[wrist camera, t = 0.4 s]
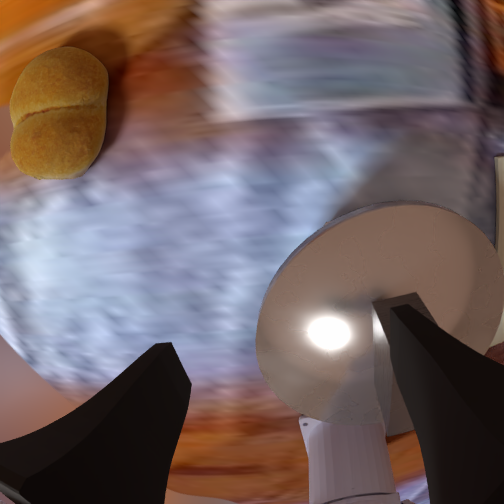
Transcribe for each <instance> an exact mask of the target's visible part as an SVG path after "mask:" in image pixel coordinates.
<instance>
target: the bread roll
mask: <svg viewBox="0 0 504 504" xmlns="http://www.w3.org/2000/svg"><path fill="white" fill-rule="evenodd" d="M108 85H109V81H108V72H107V70H106V68H105V67H104V65H103V64H102V63H101V62H100V61H99V60H98V59H97V58H96V57H94V56H93V55H92V54H90V53H89V52H87V51H85V50H82V49H79V48H75V47H60V48H55V49H52V50H49V51H46V52H44V53H42V54H41V55H39V56H38V57H36V58H35V59H33V60H32V61H31V62H30V63H29V64H28V65H27V67H26V68H25V69H24V70H23V72H22V74H21V75H20V77H19V79H18V81H17V83H16V86H15V88H14V90H13V93H12V96H11V99H10V114H11V119H12V122H13V126H14V131H13V134H12V138H11V145H10V148H11V156H12V159H13V161H14V162H15V164H16V165H17V167H18V168H19V170H20V171H22V172H23V173H25V174H26V175H29V176H32V177H34V178H36V179H39V180H41V179H61V180H63V179H74V178H78V177H81V176H83V175H84V174H85V173H86V171H87V170H88V168H89V167H90V165H91V164H92V162H93V161H94V160H95V158H96V157H97V155H98V153H99V152H100V149H101V147H102V144H103V141H104V136H105V129H106V101H107V95H108Z"/></svg>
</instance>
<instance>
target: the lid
mask: <svg viewBox="0 0 504 504" xmlns="http://www.w3.org/2000/svg"><path fill="white" fill-rule="evenodd" d="M405 304H409V305H410V306H412V307H413V308H414V309H416V310H417V311H419V312H420V313H421V314H423V315H424V316H425V317H427V318H428V319H429V320H431V321H432V322H433V323H435V324H436V325H437V326H439V327H440V328H442V329H443V330H444V331H446V332H447V333H449V334H450V335H452V336H453V337H455V338H456V339H458V340H459V341H461V342H462V343H464V344H465V345H467V346H469V347H470V348H472V349H473V350H475V351H477V352H478V353H480V354H482V355H485V353H486V352H487V350H488V349H489V347H490V345H491V343H492V341H493V339H494V337H495V335H496V332H497V330H498V327H499V324H500V321H501V317H502V313H503V309H504V273H503V268H502V265H501V262H500V259H499V256H498V254H497V252H496V250H495V248H494V246H493V244H492V243H491V242H490V240H489V239H488V238H487V237H486V235H485V234H484V233H483V232H482V231H481V230H480V229H479V228H478V227H476V226H475V225H474V224H473V223H471V222H470V221H468V220H467V219H465V218H464V217H462V216H460V215H459V214H457V213H455V212H454V211H452V210H450V209H447V208H445V207H442V206H440V205H437V204H433V203H428V202H423V201H410V200H398V201H389V202H381V203H377V204H373V205H370V206H366V207H362V208H359V209H357V210H354V211H352V212H350V213H347V214H345V215H342V216H340V217H339V218H337V219H335V220H333V221H332V222H330V223H328V224H326V225H324V226H323V227H322V228H320V229H319V230H317V231H316V232H315V233H313V234H312V235H311V236H309V237H308V238H307V239H306V240H305V241H303V242H302V243H301V244H300V245H299V246H298V247H297V248H296V249H295V250H294V251H293V252H292V253H291V254H290V255H289V257H288V258H287V259H286V260H285V261H284V263H283V264H282V265H281V266H280V268H279V269H278V271H277V272H276V274H275V276H274V277H273V279H272V280H271V282H270V284H269V286H268V288H267V291H266V293H265V295H264V297H263V300H262V304H261V308H260V311H259V315H258V323H257V332H256V355H257V360H258V364H259V368H260V370H261V372H262V375H263V377H264V379H265V381H266V382H267V384H268V386H269V387H270V389H271V390H272V391H273V392H274V393H275V394H276V396H277V397H278V398H279V399H280V400H282V401H283V402H284V403H285V404H286V405H288V406H289V407H291V408H292V409H294V410H296V411H297V412H299V413H301V414H303V415H305V416H308V417H310V418H312V419H316V420H319V421H322V422H327V423H332V424H338V425H370V424H378V423H383V422H384V425H385V429H386V433H387V437H389V436H393V435H397V434H401V433H404V432H408V431H412V430H415V429H414V426H413V423H412V420H411V418H410V415H409V413H408V410H407V407H406V405H405V402H404V400H403V397H402V395H401V392H400V390H399V387H398V384H397V382H396V378H395V374H394V371H393V367H392V363H391V359H390V308H392V307H396V306H400V305H405Z"/></svg>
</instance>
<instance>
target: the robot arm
mask: <svg viewBox="0 0 504 504" xmlns="http://www.w3.org/2000/svg"><path fill="white" fill-rule="evenodd" d="M390 359H391V363H392V367H393V371H394V374H395V378H396V382H397V384H398V387H399V390H400V392H401V395H402V397H403V400H404V402H405V405H406V407H407V410H408V413H409V415H410V418H411V420H412V423H413V426H414V429H415V431H416V434H417V437H418V440H419V444H420V447H421V452H422V456H423V461H424V466H425V471H426V477H427V483H428V490H429V497H430V504H504V365H502V364H500V363H498V362H496V361H494V360H492V359H490V358H488V357H486V356H484V355H482V354H480V353H478V352H477V351H475V350H473V349H472V348H470V347H469V346H467V345H465V344H464V343H462V342H461V341H459V340H458V339H456V338H455V337H453V336H452V335H450V334H449V333H447V332H446V331H444V330H443V329H442V328H440V327H439V326H437V325H436V324H435V323H433V322H432V321H431V320H429V319H428V318H427V317H425V316H424V315H423V314H421V313H420V312H419V311H417V310H416V309H414V308H413V307H412V306H410V305H409V304H405V305H400V306H396V307H392V308H390ZM191 386H192V384H191V382H190V380H189V378H188V376H187V374H186V372H185V370H184V368H183V366H182V364H181V362H180V360H179V357H178V355H177V353H176V351H175V349H174V347H173V345H172V343H171V342H167V343H156V344H155V345H153V346H152V347H151V348H149V349H148V350H147V351H146V352H145V353H143V354H142V355H141V356H140V357H139V358H138V359H137V360H135V361H134V362H133V363H132V364H131V365H130V366H129V367H128V368H126V369H125V370H124V371H123V372H122V373H121V374H120V375H119V376H117V377H116V378H115V379H114V380H113V381H112V382H110V383H109V384H108V385H107V386H106V387H104V388H103V389H102V390H101V391H99V392H98V393H97V394H96V395H94V396H93V397H92V398H91V399H89V400H88V401H87V402H85V403H84V404H82V405H81V406H79V407H78V408H76V409H75V410H74V411H72V412H70V413H69V414H67V415H65V416H64V417H62V418H60V419H58V420H56V421H55V422H53V423H51V424H49V425H47V426H45V427H43V428H41V429H39V430H37V431H34V432H32V433H30V434H27V435H25V436H22V437H19V438H16V439H13V440H10V441H6V442H3V443H0V492H2V493H3V494H4V495H5V496H6V497H8V498H9V499H10V500H12V501H13V502H14V503H15V504H164V501H165V492H166V487H167V481H168V475H169V469H170V466H171V462H172V458H173V455H174V452H175V449H176V445H177V442H178V439H179V436H180V433H181V430H182V427H183V423H184V420H185V417H186V414H187V410H188V405H189V400H190V393H191ZM299 424H300V427H301V431H302V435H303V438H304V442H305V446H306V450H307V453H308V457H309V504H415V503H413V502H410V500H408V499H406V500H404V501H401V502H400V496H399V493H398V492H397V493H396V488H395V483H394V478H393V473H392V467H391V463H390V458H389V453H388V448H387V444H386V439H385V435H386V429H385V425H384V422H383V423H378V424H370V425H338V424H332V423H327V422H322V421H319V420H316V419H312V418H310V417H308V416H305V415H303V416H300V417H299ZM0 504H5V503H4V502H3V501H1V500H0Z"/></svg>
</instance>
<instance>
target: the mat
mask: <svg viewBox="0 0 504 504" xmlns="http://www.w3.org/2000/svg"><path fill="white" fill-rule="evenodd" d="M494 159H495V174H496V240H495V250H496V252H497V254H498V256H499V259H500V262H501V265H502V268H503V273H504V156H498V157H494ZM502 342H504V309H503V313H502V317H501V321H500V324H499V327H498V330H497V332H496V335H495V337H494V339H493V341H492V343H491V345H490V347H491V346H494V345H497V344H499V343H502Z"/></svg>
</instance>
